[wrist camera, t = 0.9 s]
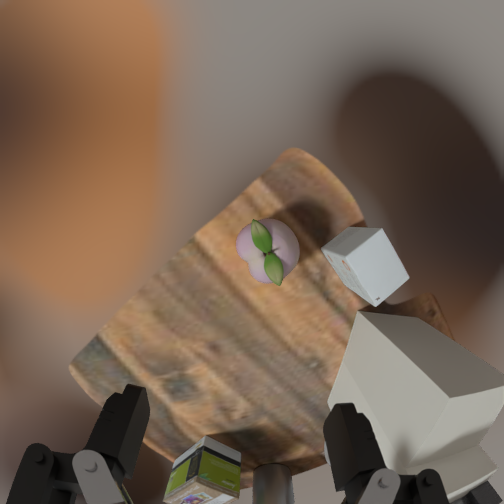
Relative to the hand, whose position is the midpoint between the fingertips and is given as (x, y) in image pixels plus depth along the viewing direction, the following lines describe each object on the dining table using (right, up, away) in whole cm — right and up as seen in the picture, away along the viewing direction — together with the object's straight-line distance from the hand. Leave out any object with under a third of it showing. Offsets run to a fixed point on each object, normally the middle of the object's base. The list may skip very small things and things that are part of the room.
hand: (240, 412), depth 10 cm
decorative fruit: (+3, +8, +34) cm, 35 cm away
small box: (+16, +6, +34) cm, 38 cm away
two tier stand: (+24, -15, +36) cm, 45 cm away
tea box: (-10, -41, +40) cm, 58 cm away
